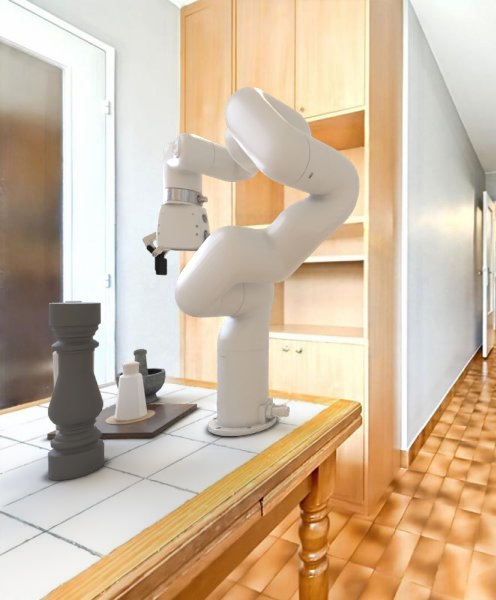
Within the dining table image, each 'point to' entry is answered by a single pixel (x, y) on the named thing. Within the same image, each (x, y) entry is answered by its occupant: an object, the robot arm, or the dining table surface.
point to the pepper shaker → (130, 394)
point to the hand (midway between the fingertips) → (183, 275)
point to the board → (139, 421)
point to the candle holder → (75, 392)
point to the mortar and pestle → (148, 376)
